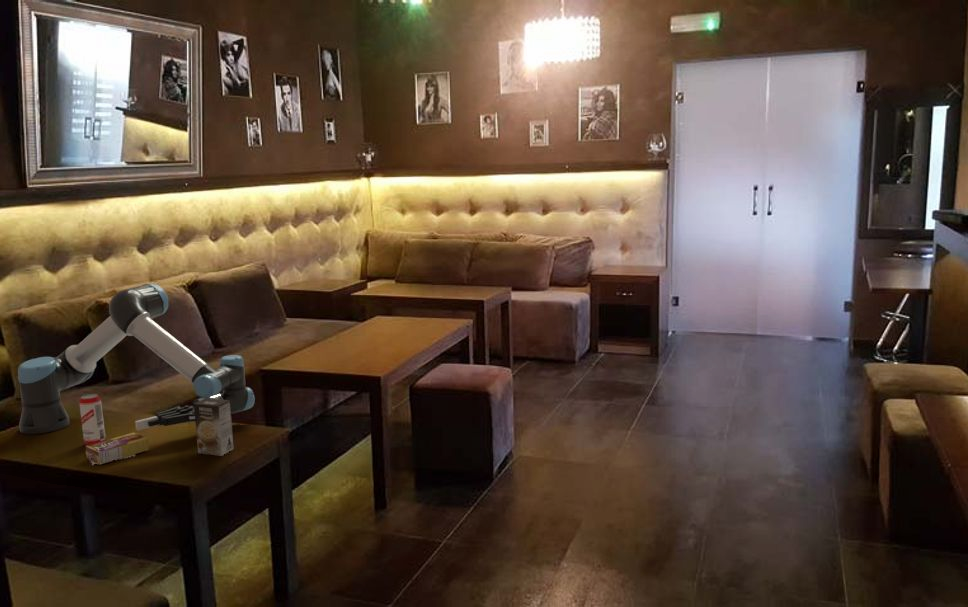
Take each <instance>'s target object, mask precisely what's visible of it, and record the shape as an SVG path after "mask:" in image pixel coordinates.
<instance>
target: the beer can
mask: <svg viewBox="0 0 968 607" xmlns="http://www.w3.org/2000/svg"><path fill="white" fill-rule="evenodd" d="M79 413H80V419H81V429H82V436H83V444H84V445H85V446H89V445H92V444H96V443H99V442H102V441H106V440H107V439H106V430H105V423H104V422H105V421H104V415H103V413H104V412H103V405H102V399H101V397H99V394H98V393H89V394H88V393H86V394H84V395H82V396H80V400H79Z"/></svg>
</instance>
